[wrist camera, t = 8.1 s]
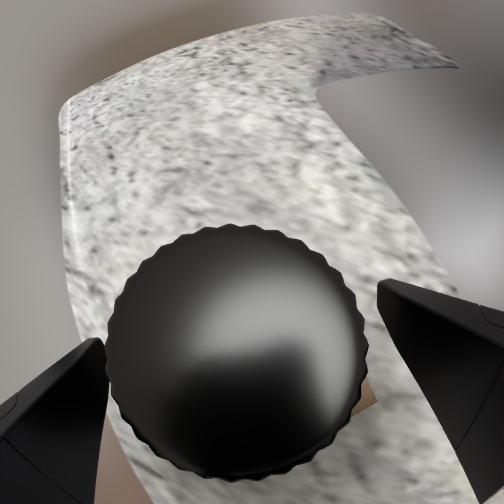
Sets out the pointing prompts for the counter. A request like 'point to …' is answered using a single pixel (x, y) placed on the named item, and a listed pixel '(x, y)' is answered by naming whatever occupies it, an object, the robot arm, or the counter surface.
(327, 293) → the supplement bottle
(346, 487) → the counter surface
